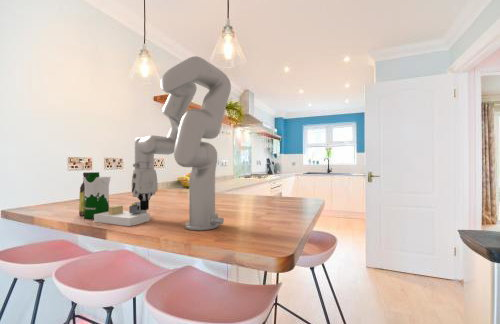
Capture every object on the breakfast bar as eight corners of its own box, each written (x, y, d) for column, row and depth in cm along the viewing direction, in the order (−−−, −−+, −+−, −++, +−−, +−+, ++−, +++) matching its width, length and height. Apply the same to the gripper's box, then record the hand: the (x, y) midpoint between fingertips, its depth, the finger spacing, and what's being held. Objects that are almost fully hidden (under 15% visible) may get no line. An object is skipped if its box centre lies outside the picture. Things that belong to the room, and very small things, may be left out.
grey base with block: (149, 220, 101) (149, 206, 101) (129, 226, 92) (129, 210, 92) (115, 216, 109) (115, 203, 109) (94, 221, 100) (94, 207, 100)
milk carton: (80, 218, 105) (80, 172, 106) (95, 214, 114) (95, 172, 115) (99, 219, 104) (99, 172, 105) (113, 214, 113) (113, 172, 114)
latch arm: (134, 208, 110) (134, 199, 110) (145, 208, 111) (145, 199, 111) (127, 213, 98) (127, 203, 98) (139, 213, 99) (139, 203, 99)
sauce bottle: (83, 216, 111) (84, 172, 111) (75, 215, 114) (75, 172, 114) (98, 213, 117) (98, 172, 117) (90, 212, 119) (90, 172, 120)
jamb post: (146, 216, 109) (146, 209, 109) (139, 218, 105) (139, 210, 106) (138, 215, 111) (138, 208, 111) (130, 217, 107) (130, 210, 107)
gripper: (135, 166, 95) (135, 213, 95) (164, 166, 109) (164, 207, 108) (122, 166, 98) (122, 212, 98) (152, 166, 112) (152, 206, 112)
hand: (144, 209), depth 103 cm, fingers closed
